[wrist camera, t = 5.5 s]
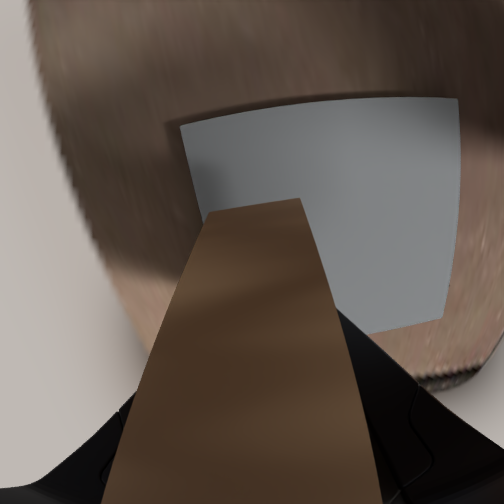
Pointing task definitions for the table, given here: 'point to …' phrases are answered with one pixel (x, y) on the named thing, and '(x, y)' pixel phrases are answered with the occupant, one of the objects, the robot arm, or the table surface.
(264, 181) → the mat
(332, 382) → the slab
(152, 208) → the table surface
